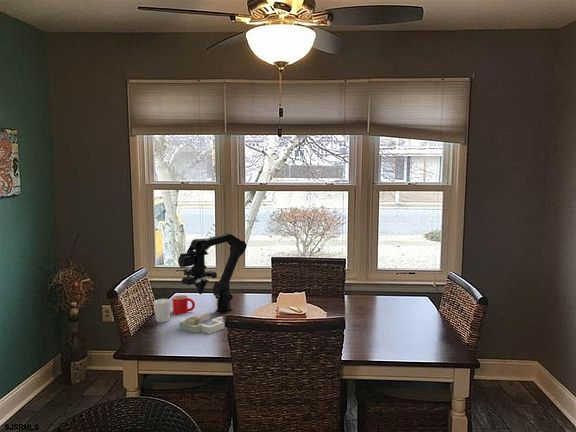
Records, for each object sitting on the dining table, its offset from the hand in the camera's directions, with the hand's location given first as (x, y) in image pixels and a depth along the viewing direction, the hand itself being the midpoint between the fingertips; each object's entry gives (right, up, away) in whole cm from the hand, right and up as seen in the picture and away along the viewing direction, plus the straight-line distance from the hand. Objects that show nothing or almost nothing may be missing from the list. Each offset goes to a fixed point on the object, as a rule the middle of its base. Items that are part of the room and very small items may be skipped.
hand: (200, 294), depth 251 cm
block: (0, -14, -15) cm, 20 cm away
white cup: (-19, -13, -2) cm, 23 cm away
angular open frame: (+5, -14, -13) cm, 20 cm away
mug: (-10, -11, +11) cm, 19 cm away
